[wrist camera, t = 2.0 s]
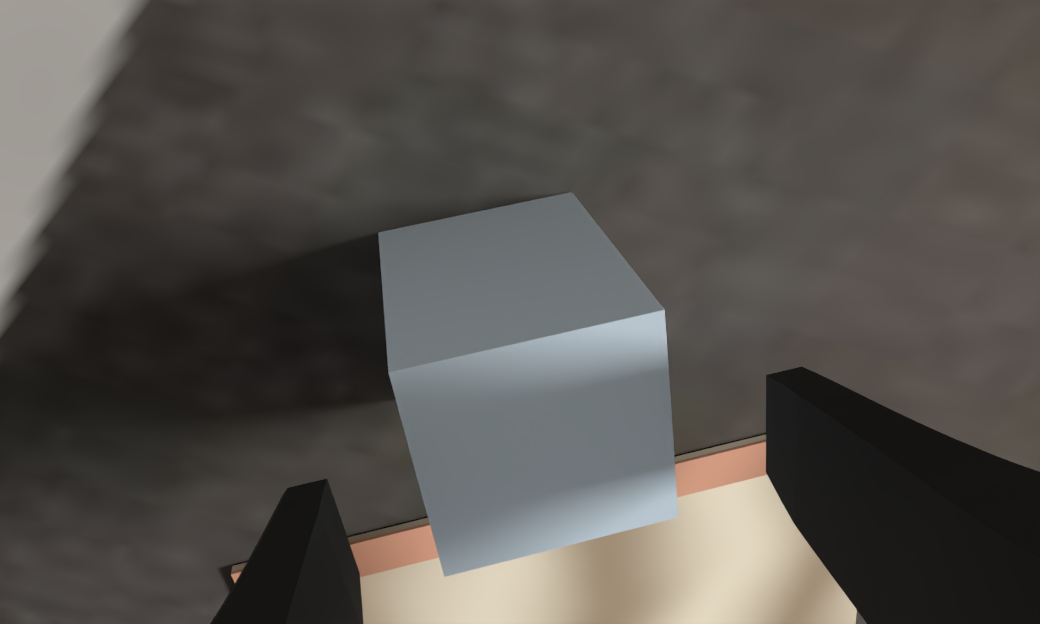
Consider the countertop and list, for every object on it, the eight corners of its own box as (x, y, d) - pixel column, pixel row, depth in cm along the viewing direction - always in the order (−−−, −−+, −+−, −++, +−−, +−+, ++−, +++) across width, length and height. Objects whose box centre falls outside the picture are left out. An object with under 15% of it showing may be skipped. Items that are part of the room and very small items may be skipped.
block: (419, 395, 19) (444, 577, 14) (378, 232, 17) (388, 372, 12) (591, 355, 20) (678, 517, 14) (571, 191, 17) (664, 310, 12)
